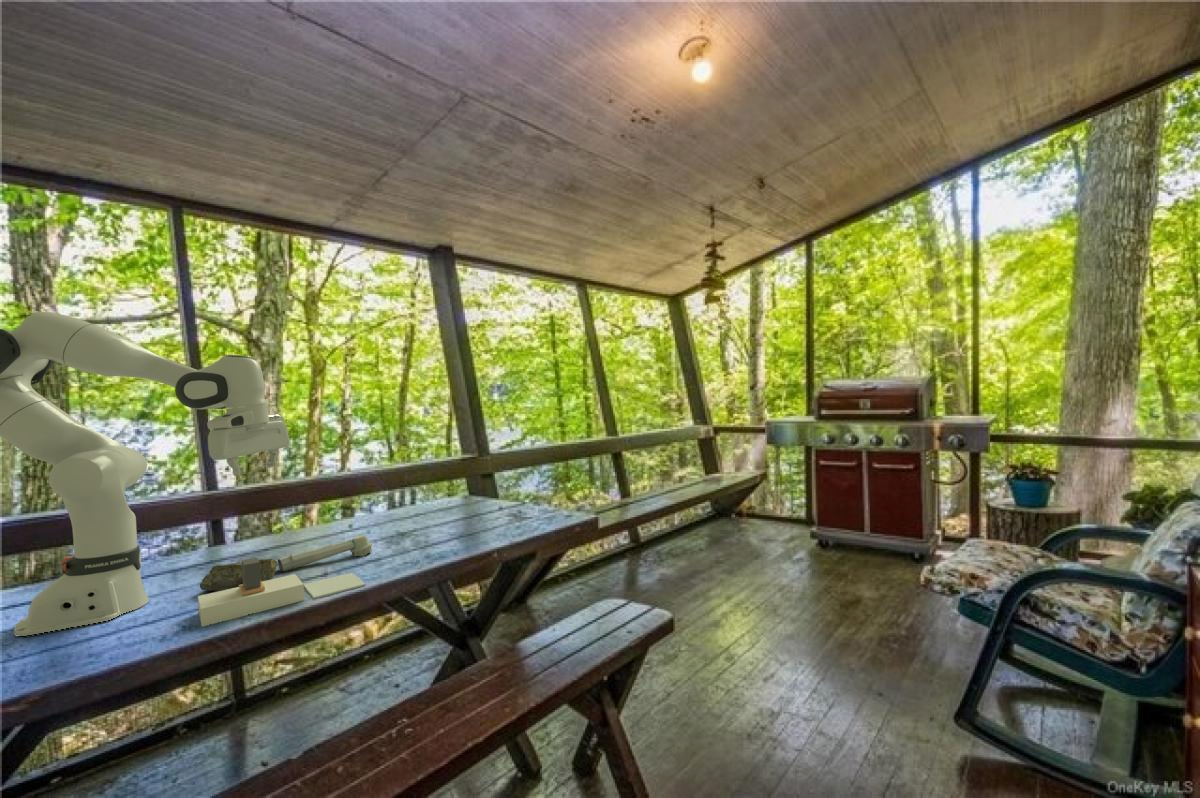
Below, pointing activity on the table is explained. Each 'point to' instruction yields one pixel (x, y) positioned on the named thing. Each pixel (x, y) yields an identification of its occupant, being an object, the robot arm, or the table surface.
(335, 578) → the mat
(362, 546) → the beige flashlight
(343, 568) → the table surface
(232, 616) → the block
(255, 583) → the plug
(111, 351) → the robot arm
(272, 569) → the rock
